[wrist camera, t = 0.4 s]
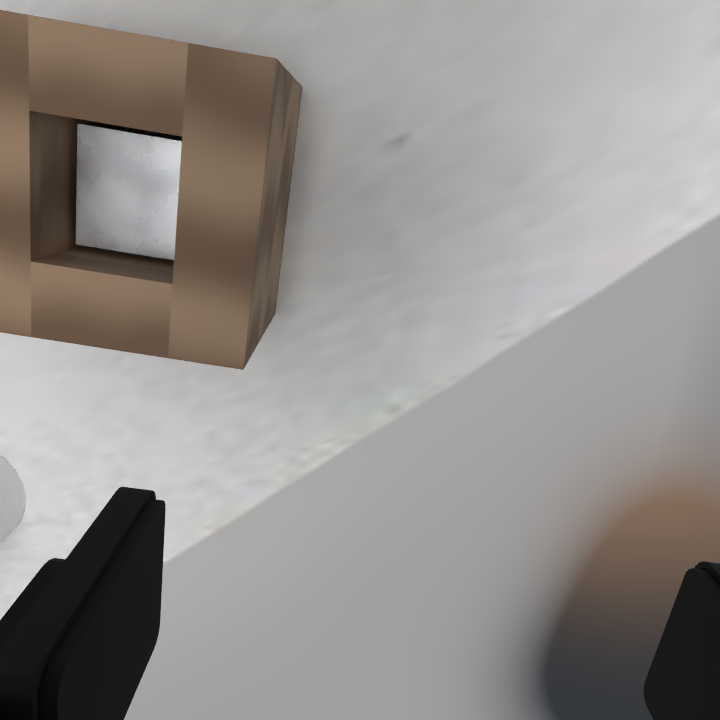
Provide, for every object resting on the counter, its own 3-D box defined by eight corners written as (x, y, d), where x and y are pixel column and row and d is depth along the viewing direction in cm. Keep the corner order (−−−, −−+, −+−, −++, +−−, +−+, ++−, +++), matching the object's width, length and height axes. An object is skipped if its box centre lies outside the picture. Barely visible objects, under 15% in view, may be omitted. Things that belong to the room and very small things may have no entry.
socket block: (62, 45, 35) (-64, -2, 25) (302, 86, 36) (276, 58, 26) (61, 280, 40) (-47, 325, 29) (274, 314, 40) (243, 369, 30)
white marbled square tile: (86, 124, 31) (77, 123, 30) (203, 144, 31) (198, 144, 31) (84, 241, 33) (75, 244, 32) (194, 259, 33) (189, 262, 32)
